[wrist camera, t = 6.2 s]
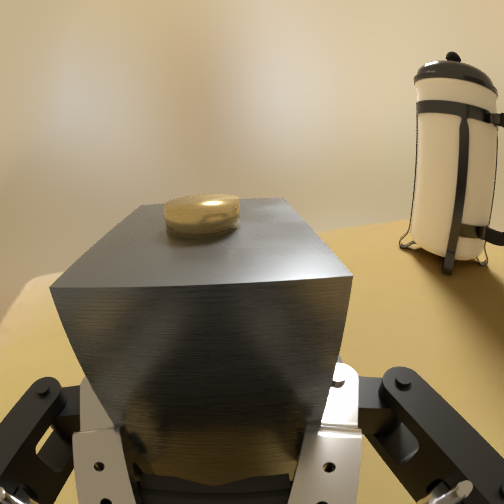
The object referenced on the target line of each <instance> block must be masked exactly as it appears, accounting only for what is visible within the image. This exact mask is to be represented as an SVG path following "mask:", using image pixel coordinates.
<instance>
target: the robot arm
mask: <svg viewBox="0 0 504 504" xmlns="http://www.w3.org/2000/svg"><path fill="white" fill-rule="evenodd" d="M49 426H51V428H52V429H53V432H52V433H51V435H50V436H49V438H48V439H47V440H46V442H45V443H44V445H43V446H42V448H41V449H40V451H39V452H38V454H37V455H36V445H37V444H38V442H39V441H40V439H41V438H42V436H43V435H44V433H45V432H46V431H47V429H48V428H49ZM362 434H364V435H365V436H366V438H367V439H368V440H369V442H370V443H371V444H372V446H373V447H374V448H375V450H376V451H377V452H378V454H379V455H380V456H381V458H382V459H383V460H384V462H385V463H386V464H387V465H388V467H389V468H390V469H391V471H392V472H393V473H394V475H395V476H396V477H397V478H398V480H399V481H400V482H401V484H402V485H403V486H404V487H405V489H406V490H407V491H408V493H409V494H410V495H411V496H412V498H413V499H414V500H415V501H416V504H504V459H503V458H502V457H501V456H500V454H499V453H498V452H497V451H496V450H495V449H494V448H493V447H492V446H491V445H490V444H489V443H488V442H487V441H486V440H485V439H484V438H483V437H482V436H481V435H480V434H479V433H478V432H477V431H476V430H475V429H474V428H473V427H472V426H471V425H470V424H469V423H468V422H467V421H466V420H465V419H464V418H463V417H462V416H461V415H460V414H459V413H458V412H457V411H456V410H455V409H454V408H453V407H452V406H450V405H449V404H448V403H447V402H446V401H445V400H444V399H443V398H442V397H441V396H440V395H439V394H438V393H437V392H436V391H435V390H434V389H433V388H432V387H431V386H430V385H429V384H428V383H427V382H426V381H425V380H423V379H422V378H421V377H420V376H419V375H418V374H417V373H416V372H415V371H413V370H412V369H409V368H406V367H393V368H391V369H389V370H387V371H386V372H385V374H384V376H383V378H374V377H362V376H358V375H357V373H356V372H355V371H354V369H352V368H351V367H349V366H347V365H345V364H343V362H342V360H341V358H340V356H338V360H337V365H336V369H335V373H334V377H333V381H332V385H331V389H330V393H329V397H328V401H327V404H326V408H325V411H324V415H323V418H322V419H318V420H312V421H307V423H306V428H305V432H304V437H303V441H302V445H301V449H300V453H299V456H298V460H297V463H296V467H295V471H294V475H293V479H292V481H290V478H289V473H286V474H277V475H268V476H257V477H250V478H246V479H242V480H238V481H234V482H230V483H226V484H222V485H217V486H210V485H205V484H201V483H197V482H193V481H189V480H186V479H182V478H179V477H173V476H162V475H155V473H154V471H153V469H152V466H151V464H150V463H149V461H148V460H147V459H146V458H143V457H142V456H141V454H140V453H139V452H138V450H137V449H136V447H135V446H134V444H133V442H132V439H131V437H130V433H129V432H128V430H127V429H126V427H125V425H124V424H122V423H114V422H112V421H111V419H110V418H109V416H108V415H107V413H106V411H105V410H104V408H103V406H102V404H101V403H100V401H99V399H98V398H97V396H96V394H95V392H94V390H93V389H92V387H91V385H90V383H89V381H88V379H87V377H84V379H83V380H82V382H81V384H80V385H78V386H71V387H63V388H62V387H61V385H60V383H59V382H58V381H57V380H56V379H55V378H52V377H44V378H41V379H39V380H37V381H35V382H34V383H33V384H32V385H31V387H30V388H29V389H28V390H27V391H26V392H25V394H24V395H23V396H22V397H21V398H20V400H19V401H18V402H17V403H16V404H15V406H14V407H13V408H12V409H11V411H10V412H9V413H8V414H7V416H6V417H5V418H4V419H3V421H2V422H1V423H0V504H54V502H55V500H56V498H57V496H58V495H59V493H60V491H61V489H62V488H63V486H64V484H65V482H66V481H67V479H68V477H69V475H70V474H71V472H72V470H73V469H74V471H75V480H76V488H77V495H78V501H79V504H356V500H357V492H358V483H359V473H360V461H361V446H362Z"/></svg>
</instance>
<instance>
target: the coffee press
mask: <svg viewBox="0 0 504 504" xmlns="http://www.w3.org/2000/svg"><path fill="white" fill-rule="evenodd" d="M446 59H447V61H433V62H430V63H427V64H425V65H423V66H422V67H421V68H420V69H419V70H418V73H417V75H416V76H415V77H414V84H415V86H416V88H417V96H418V102H417V103H416V110H417V112H416V114H417V117H418V118H417V139H418V156H417V144H416V165H417V174H416V165H415V180H416V187H415V180H414V191H415V197H414V192H413V201H414V207H413V202H412V210H413V216H412V210H411V217H412V223H411V218H410V224H411V237H412V239H413V240H414V241H411V242H410V243H408V244H406V245H403V244H402V243H401V240H402V239H403V238H404V237H405V236H406V235H407V234H408V232H409V229H410V224H409V229H408V230H407V232H406V233H405V234H404V235H403V236H402V237H401V238H400V241H399V245H400V247H401V248H407V247H409V246H410V245H412V244H417V245H419V246H420V247H421V248H423V249H425V250H427V251H429V252H431V253H433V254H436V255H439V256H442V257H443V266H442V273H445V274H449V275H451V274H452V271H453V266H454V259H456V260H470V259H474V258H477V260H478V261H479V259H478V256H479V255H480V254H481V253H482V251H483V249H484V252H485V255H486V260H485V261H484V262H480V261H479V263H480V265H481V266H486V265H487V264H488V257H487V254H486V250H485V244H486V241H487V242H489V243H491V244H494V245H498V246H504V232H499V231H496V230H493V229H491V228H489V225H490V218H491V211H492V204H493V198H494V190H495V180H496V168H497V149H498V137H497V131H498V126H502V127H504V113H501V114H497V113H496V100H497V97H498V93H497V89H496V88H495V87H494V86H493V83H492V81H491V80H490V78H489V77H488V76H487V75H486V74H485V73H484V72H482V71H481V70H479V69H477V68H475V67H473V66H471V65H468V64H465V63H461V62H460V61H461V59H460V57H459V56H458V54H457V53H455V52H448V53H447V55H446ZM416 143H417V141H416Z"/></svg>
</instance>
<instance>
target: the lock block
mask: <svg viewBox="0 0 504 504" xmlns="http://www.w3.org/2000/svg"><path fill="white" fill-rule="evenodd" d="M352 279H353V275H352V274H351V273H350V271H349V270H348V269H347V268H346V267H345V266H344V264H343V263H342V262H341V261H340V260H339V259H338V257H337V256H336V255H335V254H334V253H333V252H332V251H331V249H330V248H329V247H328V246H327V245H326V244H325V243H324V242H323V240H322V239H321V238H320V237H319V236H318V235H317V234H316V233H315V232H314V231H313V229H312V228H311V227H310V226H309V225H308V224H307V223H306V222H305V221H304V219H302V217H301V216H300V215H299V214H298V213H297V212H296V211H295V210H294V209H293V208H292V207H291V206H290V204H289V203H288V202H287V201H286V200H285V199H284V198H260V199H259V198H258V199H239V198H238V197H236V196H232V195H224V194H203V195H193V196H186V197H181V198H177V199H173V200H170V201H168V202H166V203H165V204H153V205H141V206H140V207H138V208H137V209H136V210H135V211H133V212H132V213H131V214H130V215H129V216H127V217H126V218H125V219H124V220H122V221H121V222H120V223H119V224H118V225H116V226H115V227H114V228H113V229H112V230H110V231H109V232H108V233H107V234H106V235H105V236H104V237H102V238H101V239H100V240H99V241H98V242H97V243H96V244H94V245H93V246H92V247H91V248H90V249H89V250H88V251H87V252H85V253H84V254H83V255H82V256H81V257H80V258H79V259H78V260H77V261H76V262H75V263H74V264H73V265H72V266H71V267H69V268H68V269H67V270H66V271H65V272H64V273H63V274H62V275H61V276H60V277H59V278H58V279H57V280H56V281H55V282H54V283H53V284H52V285H51V286H50V287H49V288H50V292H51V295H52V297H53V300H54V303H55V306H56V309H57V312H58V314H59V317H60V319H61V322H62V325H63V327H64V330H65V332H66V334H67V337H68V339H69V341H70V344H71V346H72V348H73V350H74V353H75V355H76V357H77V359H78V361H79V363H80V365H81V367H82V369H83V371H84V373H85V375H86V377H87V379H88V381H89V383H90V385H91V387H92V389H93V390H94V392H95V394H96V396H97V398H98V399H99V401H100V403H101V404H102V406H103V408H104V410H105V411H106V413H107V415H108V416H109V418H110V419H111V421H112V422H114V423H122V424H124V425H125V427H126V429H127V430H128V432H129V433H130V437H131V439H132V442H133V444H134V446H135V447H136V449H137V450H138V452H139V453H140V454H141V456H142V457H143V458H146V459H147V460H148V461H149V463H150V464H151V466H152V469H153V471H154V473H155V475H162V476H173V477H179V478H182V479H186V480H189V481H193V482H197V483H201V484H205V485H210V486H217V485H222V484H226V483H230V482H234V481H238V480H242V479H246V478H250V477H257V476H268V475H277V474H286V473H289V478H290V481H292V479H293V475H294V471H295V467H296V463H297V460H298V456H299V453H300V449H301V445H302V441H303V437H304V432H305V428H306V423H307V421H312V420H318V419H322V418H323V415H324V411H325V408H326V404H327V401H328V397H329V393H330V389H331V385H332V381H333V377H334V373H335V369H336V365H337V360H338V356H339V351H340V347H341V342H342V337H343V332H344V327H345V321H346V316H347V310H348V305H349V299H350V292H351V286H352Z"/></svg>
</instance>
